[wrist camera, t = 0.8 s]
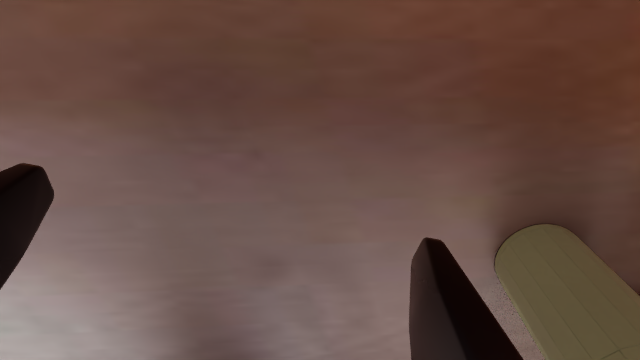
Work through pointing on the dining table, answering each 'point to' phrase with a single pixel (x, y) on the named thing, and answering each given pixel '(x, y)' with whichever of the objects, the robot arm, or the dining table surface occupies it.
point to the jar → (568, 296)
